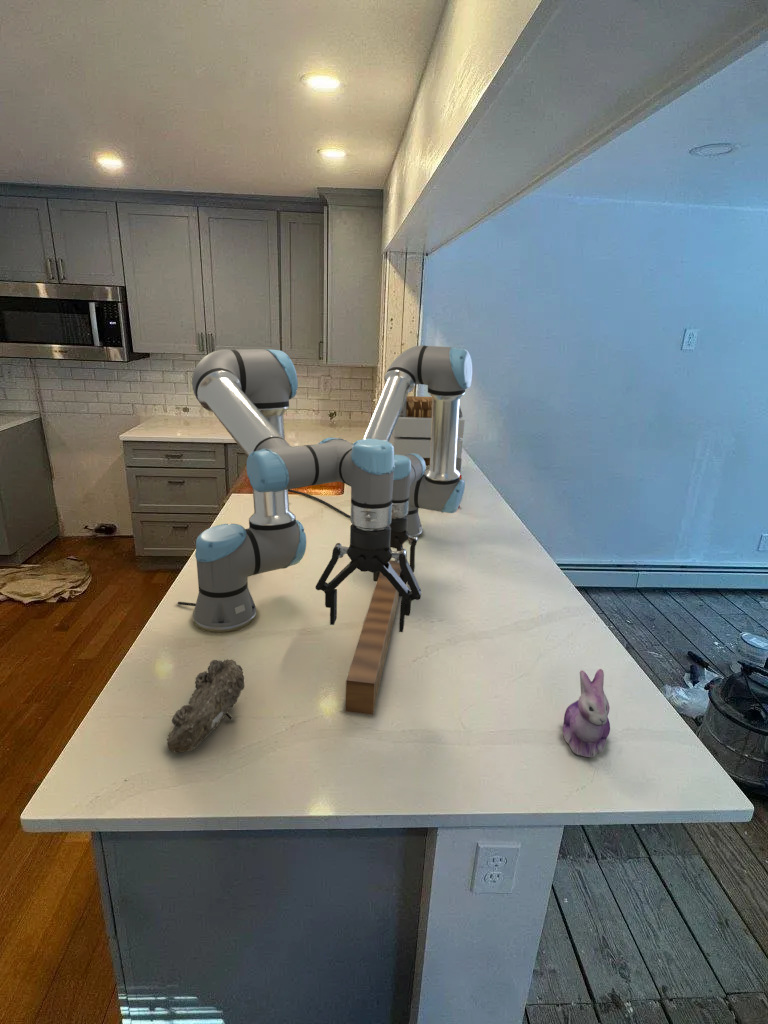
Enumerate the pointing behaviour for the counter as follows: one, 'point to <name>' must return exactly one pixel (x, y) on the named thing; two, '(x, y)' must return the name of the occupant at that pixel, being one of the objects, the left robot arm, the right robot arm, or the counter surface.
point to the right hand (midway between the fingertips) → (389, 592)
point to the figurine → (588, 717)
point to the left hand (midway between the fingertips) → (367, 625)
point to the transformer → (420, 430)
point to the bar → (372, 647)
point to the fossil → (206, 705)
